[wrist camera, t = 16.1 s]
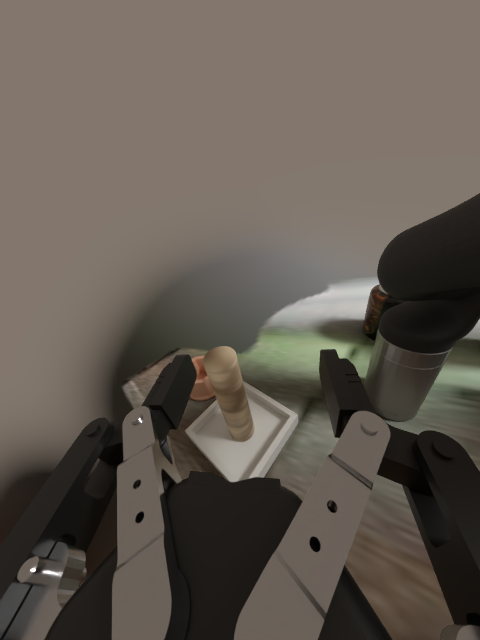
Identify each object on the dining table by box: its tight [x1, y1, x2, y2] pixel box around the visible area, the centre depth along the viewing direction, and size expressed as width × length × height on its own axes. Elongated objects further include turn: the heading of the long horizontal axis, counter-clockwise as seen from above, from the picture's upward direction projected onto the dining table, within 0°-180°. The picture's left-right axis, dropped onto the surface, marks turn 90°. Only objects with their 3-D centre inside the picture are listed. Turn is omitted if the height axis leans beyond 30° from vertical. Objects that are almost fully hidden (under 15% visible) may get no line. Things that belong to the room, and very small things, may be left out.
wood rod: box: [203, 346, 254, 442], centre depth 35 cm, size 5×5×20 cm
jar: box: [363, 285, 407, 340], centre depth 53 cm, size 12×12×15 cm
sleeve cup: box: [190, 356, 215, 401], centre depth 51 cm, size 10×10×6 cm
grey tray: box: [185, 381, 298, 482], centre depth 40 cm, size 16×16×3 cm
